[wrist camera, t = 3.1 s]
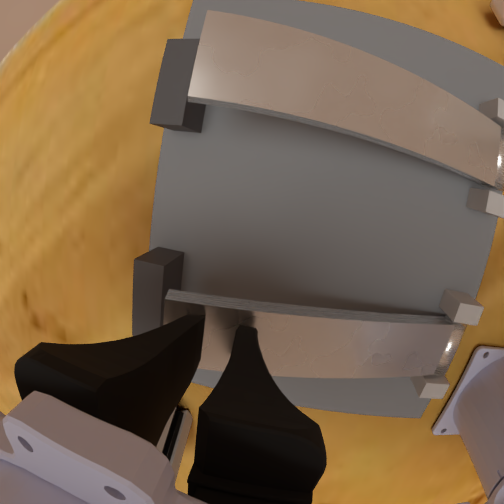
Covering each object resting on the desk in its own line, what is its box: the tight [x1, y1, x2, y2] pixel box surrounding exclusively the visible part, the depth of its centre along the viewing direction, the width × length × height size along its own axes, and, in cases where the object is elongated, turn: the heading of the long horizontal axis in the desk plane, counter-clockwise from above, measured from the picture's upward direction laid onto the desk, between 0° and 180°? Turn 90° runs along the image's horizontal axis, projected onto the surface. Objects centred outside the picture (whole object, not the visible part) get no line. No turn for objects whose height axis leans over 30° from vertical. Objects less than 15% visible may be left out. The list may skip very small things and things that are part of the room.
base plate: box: [132, 0, 504, 418], centre depth 14 cm, size 18×22×5 cm
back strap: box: [163, 289, 467, 378], centre depth 13 cm, size 15×3×1 cm, turn 80°
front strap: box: [188, 10, 504, 191], centre depth 10 cm, size 15×3×1 cm, turn 80°
